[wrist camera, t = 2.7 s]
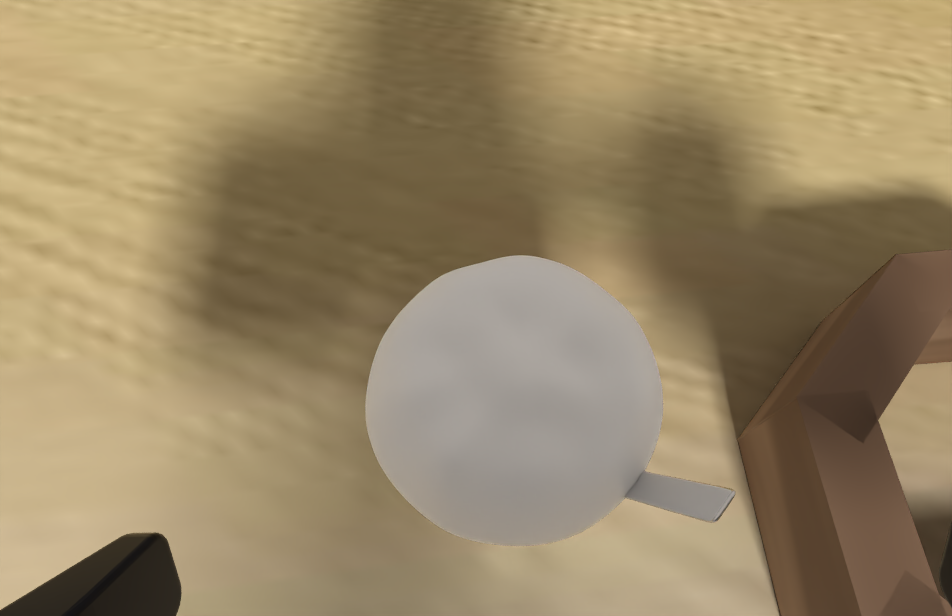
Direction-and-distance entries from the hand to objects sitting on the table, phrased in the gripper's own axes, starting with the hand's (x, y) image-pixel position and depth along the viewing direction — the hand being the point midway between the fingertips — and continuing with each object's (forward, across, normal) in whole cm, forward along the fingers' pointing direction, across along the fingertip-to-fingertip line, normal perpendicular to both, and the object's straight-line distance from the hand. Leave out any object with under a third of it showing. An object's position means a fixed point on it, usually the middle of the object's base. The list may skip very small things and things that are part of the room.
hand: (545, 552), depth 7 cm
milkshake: (+8, 0, +5) cm, 10 cm away
